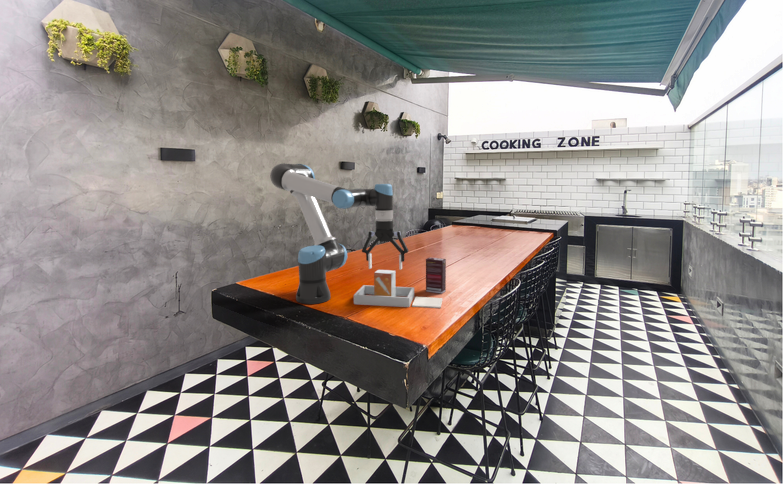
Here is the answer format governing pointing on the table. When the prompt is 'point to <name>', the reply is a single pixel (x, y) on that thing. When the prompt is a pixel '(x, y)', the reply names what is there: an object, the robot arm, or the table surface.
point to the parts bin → (384, 297)
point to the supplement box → (436, 275)
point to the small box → (385, 283)
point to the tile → (427, 302)
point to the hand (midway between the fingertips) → (385, 268)
